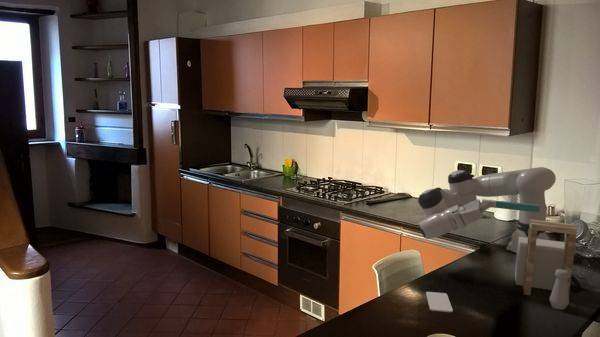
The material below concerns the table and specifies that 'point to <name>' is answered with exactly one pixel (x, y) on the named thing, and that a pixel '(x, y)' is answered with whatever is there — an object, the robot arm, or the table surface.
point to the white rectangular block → (540, 262)
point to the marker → (513, 205)
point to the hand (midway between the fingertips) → (492, 202)
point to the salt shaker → (560, 290)
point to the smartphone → (439, 302)
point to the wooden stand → (531, 247)
